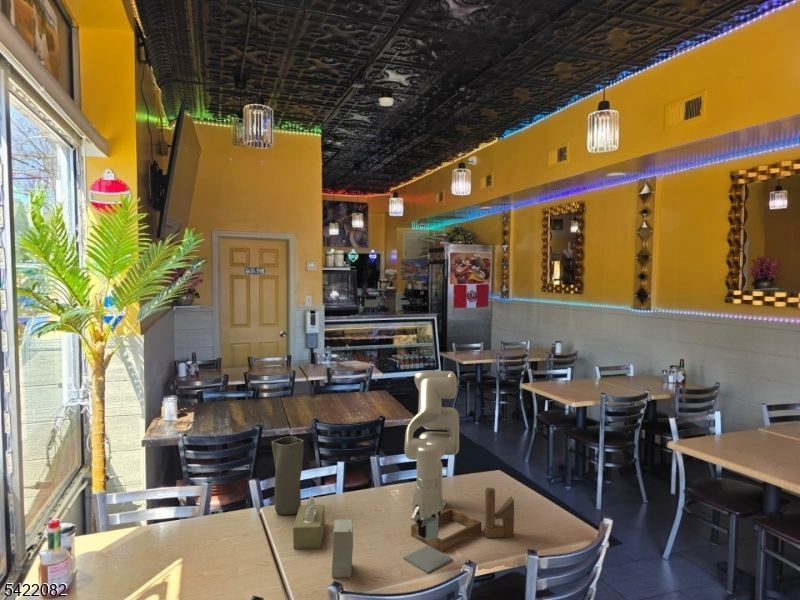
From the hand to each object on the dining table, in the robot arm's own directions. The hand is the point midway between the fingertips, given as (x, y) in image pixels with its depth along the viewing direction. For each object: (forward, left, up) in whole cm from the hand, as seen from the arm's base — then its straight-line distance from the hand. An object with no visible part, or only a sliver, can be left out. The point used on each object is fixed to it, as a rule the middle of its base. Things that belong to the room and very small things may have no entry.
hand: (427, 533), depth 176 cm
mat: (0, 0, -9) cm, 9 cm away
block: (0, 0, -1) cm, 1 cm away
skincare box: (-14, -26, -10) cm, 31 cm away
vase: (-66, -17, -10) cm, 69 cm away
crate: (-8, +18, -9) cm, 22 cm away
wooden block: (+6, +32, -10) cm, 34 cm away
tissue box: (-42, -21, -10) cm, 48 cm away
